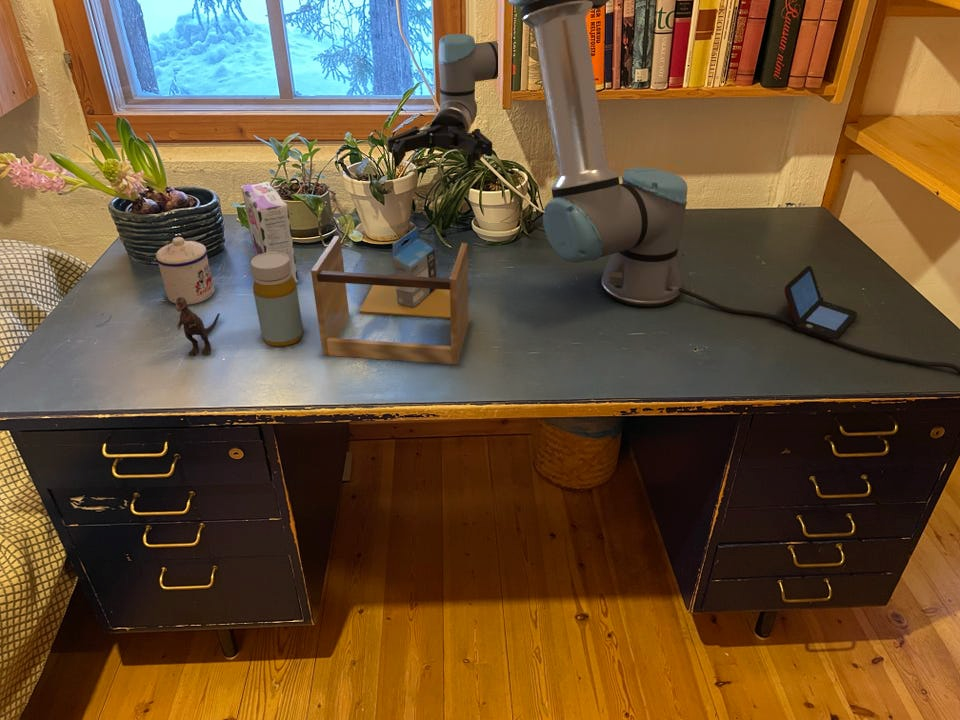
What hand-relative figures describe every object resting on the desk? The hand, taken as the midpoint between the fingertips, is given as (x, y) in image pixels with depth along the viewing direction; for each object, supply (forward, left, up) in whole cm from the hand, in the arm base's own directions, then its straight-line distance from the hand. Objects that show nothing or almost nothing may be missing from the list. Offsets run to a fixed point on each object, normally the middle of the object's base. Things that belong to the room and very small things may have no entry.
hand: (432, 160), depth 135 cm
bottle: (+23, +26, -24) cm, 42 cm away
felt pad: (+3, +10, -24) cm, 26 cm away
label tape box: (+2, +9, -24) cm, 25 cm away
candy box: (+33, +2, -24) cm, 41 cm away
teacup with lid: (+46, +12, -24) cm, 53 cm away
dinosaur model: (+36, +29, -24) cm, 52 cm away
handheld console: (-71, +8, -24) cm, 76 cm away
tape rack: (+3, +24, -24) cm, 34 cm away
